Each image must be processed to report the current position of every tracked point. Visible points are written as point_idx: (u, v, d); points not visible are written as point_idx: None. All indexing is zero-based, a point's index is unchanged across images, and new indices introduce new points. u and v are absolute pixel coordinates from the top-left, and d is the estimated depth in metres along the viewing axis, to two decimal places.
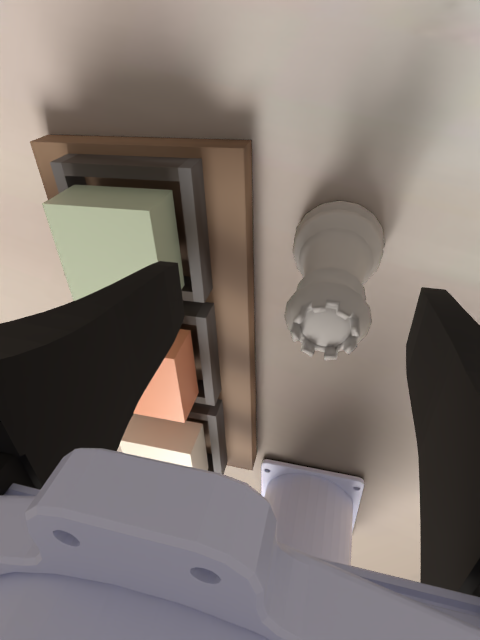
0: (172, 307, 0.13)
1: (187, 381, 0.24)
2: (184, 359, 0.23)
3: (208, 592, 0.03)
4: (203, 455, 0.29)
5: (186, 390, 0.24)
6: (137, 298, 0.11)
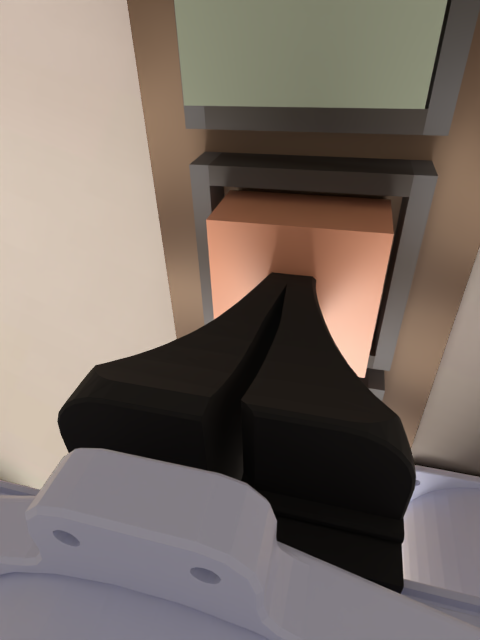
0: None
1: None
2: None
3: (208, 592, 0.03)
4: None
5: None
6: (271, 314, 0.10)
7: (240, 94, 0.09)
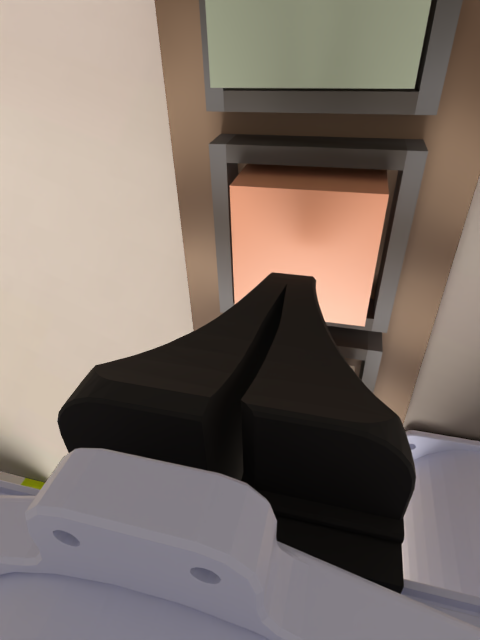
0: None
1: None
2: None
3: (208, 592, 0.03)
4: None
5: None
6: (271, 314, 0.10)
7: (259, 77, 0.10)
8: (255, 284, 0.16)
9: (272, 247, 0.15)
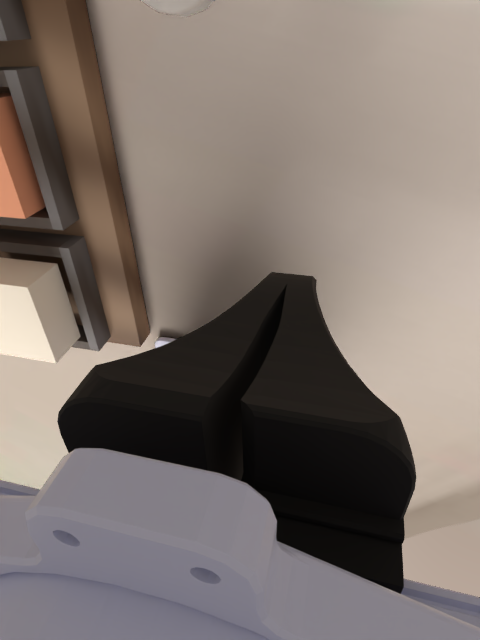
0: None
1: (25, 162, 0.19)
2: (13, 123, 0.19)
3: (208, 592, 0.03)
4: (64, 311, 0.24)
5: (24, 173, 0.19)
6: (271, 314, 0.10)
7: None
8: None
9: None
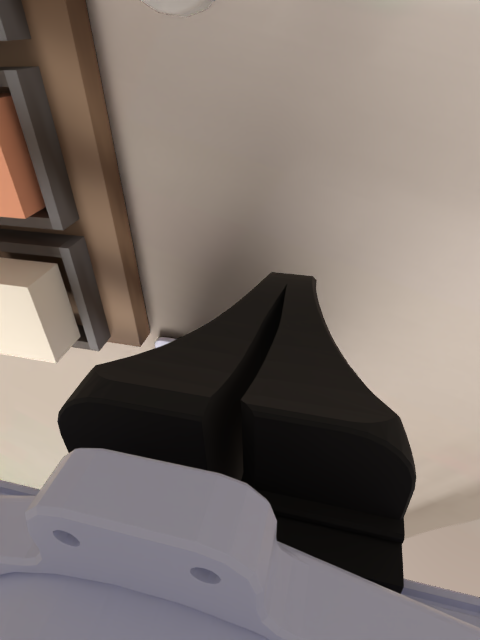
0: None
1: (25, 162, 0.19)
2: (13, 123, 0.19)
3: (208, 592, 0.03)
4: (64, 311, 0.24)
5: (24, 173, 0.19)
6: (271, 314, 0.10)
7: None
8: None
9: None
